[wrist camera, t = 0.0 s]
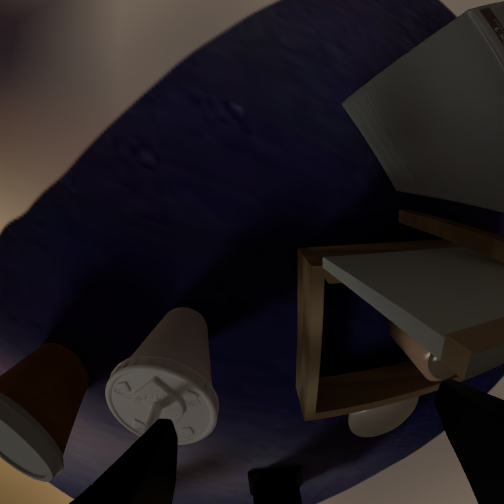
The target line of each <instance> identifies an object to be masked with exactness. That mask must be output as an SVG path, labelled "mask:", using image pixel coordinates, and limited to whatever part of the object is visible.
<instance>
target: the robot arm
mask: <svg viewBox="0 0 504 504" xmlns="http://www.w3.org/2000/svg"><path fill="white" fill-rule="evenodd" d="M434 402H435V406H436V409H437V411H438V414H439V416H440V419H441V421H442V424H443V427H444V429H445V432H446V434H447V436H448V439H449V441H450V443H451V445H452V447H453V449H454V451H455V453H456V455H457V457H458V459H459V461H460V463H461V466H462V468H463V470H464V472H465V474H466V476H467V479H468V481H469V483H470V485H471V487H472V490H473V492H474V495H475V497H476V499H477V502H478V504H504V400H502V399H500V398H497V397H495V396H492V395H490V394H487V393H485V392H482V391H480V390H477V389H475V388H473V387H470V386H468V385H465V384H463V383H461V382H458V381H456V380H453V379H447V380H444V381H442V382H441V383H440V385H439V388H438V390H437V393H436V396H435V399H434ZM177 449H178V436H177V433H176V430H175V427H174V424H173V421H172V420H171V419H162V418H160V419H158V420H156V421H155V423H154V424H153V425H152V426H151V427H150V428H149V429H148V430H147V431H146V432H145V433H144V434H143V435H142V436H141V437H140V438H139V439H138V440H137V441H136V442H135V443H134V444H133V445H132V446H131V447H130V448H129V449H128V450H127V451H126V452H125V453H124V454H123V455H122V456H121V457H120V458H119V459H118V460H117V461H116V462H115V463H114V464H112V465H111V466H110V467H109V468H108V469H107V470H106V471H105V472H104V473H103V474H102V475H101V476H100V477H99V478H98V479H97V480H96V481H95V482H94V483H93V485H90V486H89V487H88V488H87V489H86V490H85V491H84V492H83V493H81V494H80V495H79V496H78V497H77V498H76V499H74V500H73V501H72V502H70V503H69V504H172V500H173V494H174V489H175V482H176V468H177ZM301 476H302V467H300V466H298V467H290V468H281V469H271V470H258V471H249V472H248V479H249V487H250V494H251V495H253V501H254V504H302V500H301V494H300V483H301Z"/></svg>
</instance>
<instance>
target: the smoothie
mask: <svg viewBox="0 0 504 504" xmlns="http://www.w3.org/2000/svg"><path fill="white" fill-rule="evenodd" d="M105 395H106V401H107V404H108V406H109V408H110V410H111V412H112V413H113V415H114V416H115V417H116V419H117V420H118V421H119V422H120V423H121V424H122V425H123V426H125V427H126V428H127V429H128V430H130V431H131V432H133V433H135V434H136V435H138V436H140V437H141V436H142V435H143V434H144V433H145V432H146V431H147V430H148V429H149V428H150V427H151V426H152V425H153V424H154V423H155V421H156V420H158V419H160V418H162V419H171V420H172V421H173V424H174V427H175V430H176V433H177V436H178V445H185V444H190V443H194V442H197V441H199V440H201V439H203V438H205V437H206V436H208V435H209V434H210V433H211V432H212V430H213V429H214V427H215V425H216V422H217V415H218V410H219V402H218V396H217V394H216V392H215V391H214V389H213V387H212V380H211V370H210V357H209V343H208V328H207V323H206V321H205V319H204V318H203V316H202V315H201V314H200V313H198V312H197V311H195V310H193V309H190V308H186V307H179V308H175V309H172V310H171V311H169V312H168V313H167V314H166V315H165V316H164V318H163V319H162V320H161V321H160V322H159V324H158V325H157V326H156V327H155V328H154V330H153V331H152V332H151V333H150V334H149V336H148V337H147V338H146V339H145V340H144V342H143V343H142V344H141V345H140V346H139V348H138V349H137V350H136V351H135V352H134V353H133V355H132V356H131V357H130V358H128V359H126V360H124V361H123V362H121V363H119V364H118V365H117V366H116V367H115V369H114V370H113V371H112V373H111V376H110V379H109V381H108V382H107V385H106V390H105Z"/></svg>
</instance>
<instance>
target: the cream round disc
mask: <svg viewBox="0 0 504 504" xmlns="http://www.w3.org/2000/svg"><path fill="white" fill-rule="evenodd" d="M418 398H419V396H417V397H414V398H411V399H407V400H404V401H400V402H397V403H393V404H389V405H385V406H381V407H377V408H373V409H369V410H364V411H360V412H355V413H350V414H349V415H348V425H349V427H350V430H351V431H352V432H353V433H354V434H355V435H357V436H360V437H374V436H378V435H381V434H384V433H387V432H389V431H391V430H392V429H394V428H396V427H397V426H399V425H400V424H401V423H403V422H404V421H405V420H406V419H407V418H408V417H409V416H410V414H411V413H412V412H413V410H414V409H415V407H416V405H417V402H418Z"/></svg>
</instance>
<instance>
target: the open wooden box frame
mask: <svg viewBox="0 0 504 504" xmlns="http://www.w3.org/2000/svg"><path fill="white" fill-rule="evenodd" d="M399 223H402V224H405V225H408V226H411V227H414V228H416V229H419V230H422V231H425V232H427V233H430V234H433V235H435V236H438V237H441V238H443V239H438V240H422V241H405V242H388V243H372V244H355V245H339V246H322V247H306V248H297V256H298V324H297V369H296V389H297V393H298V397H299V401H300V405H301V409H302V412H303V416H304V420H305V421H309V420H316V419H322V418H328V417H334V416H340V415H345V414H350V413H355V412H360V411H364V410H369V409H373V408H377V407H381V406H385V405H389V404H393V403H397V402H400V401H404V400H407V399H411V398H414V397H417V396H421V395H424V394H427V393H430V392H433V391H436V390H438V388H439V385H440V383H441V382H442V381H444V380H447V379H453V380H456V381H458V382H461V381H463V380H462V379H461V378H460V377H459V376H457V375H456V374H455V375H453V376H452V377H450V378H447V379H444V380H440V381H430V380H428V379H427V378H426V377H425V376H424V375H423V374H422V373H421V371H420V370H419V369H418V368H417V367H416V365H415V364H414V363H413V362H412V361H411V360H410V361H406V362H402V363H397V364H393V365H389V366H384V367H379V368H374V369H369V370H364V371H359V372H353V373H347V374H341V375H335V376H328V377H321V378H319V370H320V357H321V343H322V326H323V305H324V278H325V279H326V281H327V282H328V283H329V284H333V283H342V282H341V281H340V280H338V279H337V278H336V277H334V276H333V275H332V274H330V273H329V272H328V271H327V270H325V269H324V268H323V257H329V256H343V255H357V254H371V253H385V252H398V251H412V250H425V249H438V248H450V247H462V246H464V247H466V248H469V249H471V250H474V251H476V252H479V253H481V254H483V255H486V256H488V257H490V258H493V259H495V260H497V261H500V262H502V263H504V237H503V236H500V235H497V234H494V233H490V232H487V231H484V230H481V229H478V228H475V227H471V226H468V225H465V224H461V223H458V222H455V221H451V220H448V219H444V218H440V217H437V216H433V215H429V214H426V213H422V212H418V211H414V210H399Z"/></svg>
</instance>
